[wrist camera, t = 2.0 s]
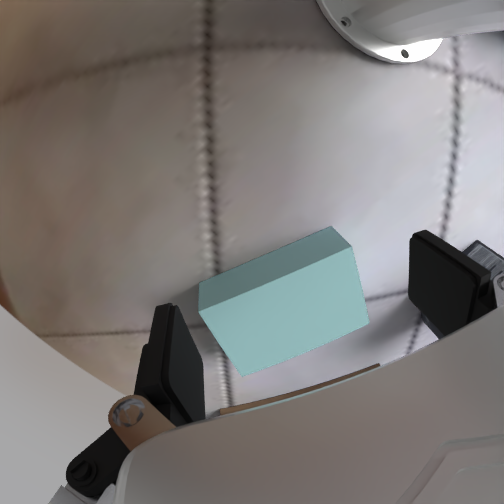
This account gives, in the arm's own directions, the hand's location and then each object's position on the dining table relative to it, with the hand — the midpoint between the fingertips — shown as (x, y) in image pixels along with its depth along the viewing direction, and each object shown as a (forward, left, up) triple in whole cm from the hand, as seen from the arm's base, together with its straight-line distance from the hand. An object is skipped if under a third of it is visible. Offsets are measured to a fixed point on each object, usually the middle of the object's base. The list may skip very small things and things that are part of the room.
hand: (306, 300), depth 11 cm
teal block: (+9, 0, -14) cm, 16 cm away
